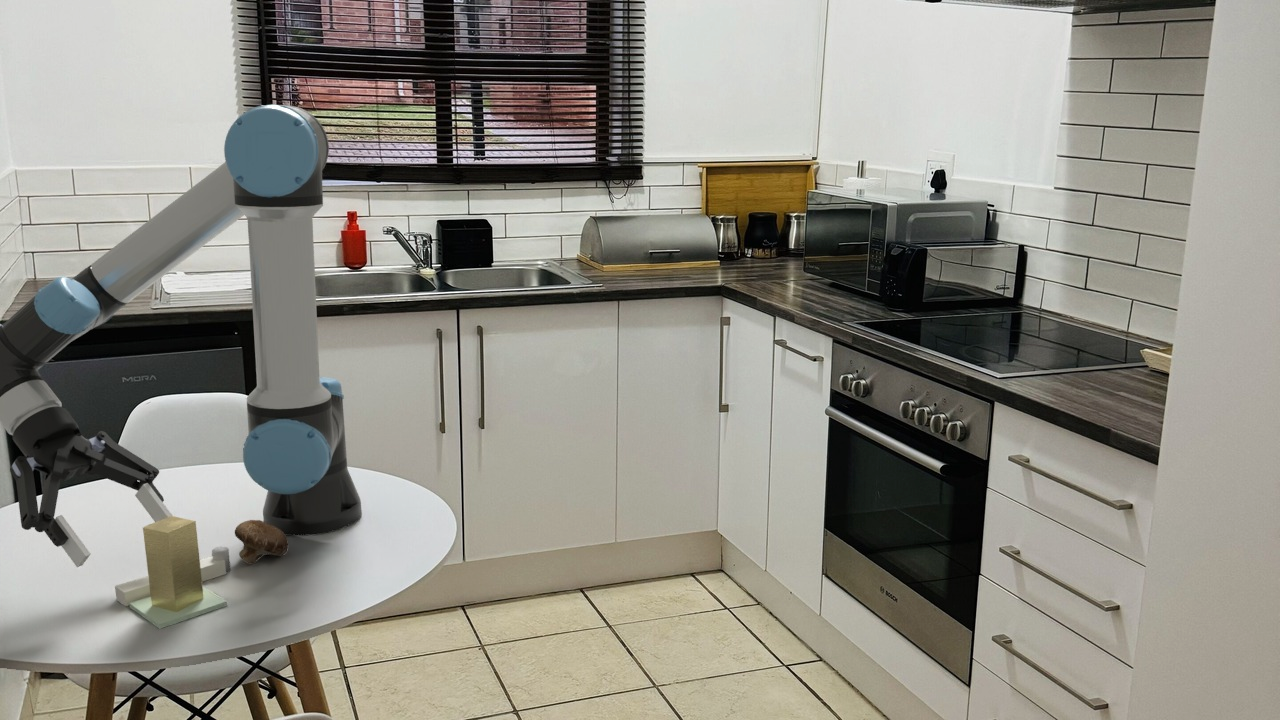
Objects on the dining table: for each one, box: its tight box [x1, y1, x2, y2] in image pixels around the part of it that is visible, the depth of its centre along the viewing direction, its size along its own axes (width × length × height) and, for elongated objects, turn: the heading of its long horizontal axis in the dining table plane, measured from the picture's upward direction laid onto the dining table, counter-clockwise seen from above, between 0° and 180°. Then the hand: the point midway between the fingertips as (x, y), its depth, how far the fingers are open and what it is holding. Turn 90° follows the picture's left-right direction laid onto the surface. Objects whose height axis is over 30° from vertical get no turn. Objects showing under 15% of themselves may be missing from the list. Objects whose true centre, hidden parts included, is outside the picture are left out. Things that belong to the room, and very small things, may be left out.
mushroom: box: [234, 519, 289, 565], centre depth 160 cm, size 8×8×6 cm
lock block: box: [142, 515, 204, 612], centre depth 144 cm, size 4×4×11 cm
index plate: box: [129, 585, 228, 629], centre depth 145 cm, size 9×9×1 cm
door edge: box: [114, 546, 231, 607], centre depth 151 cm, size 15×3×3 cm, turn 137°
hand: (128, 542), depth 147 cm, fingers open, 13 cm apart
